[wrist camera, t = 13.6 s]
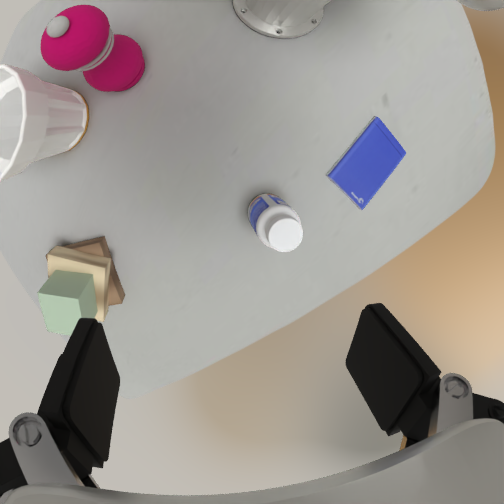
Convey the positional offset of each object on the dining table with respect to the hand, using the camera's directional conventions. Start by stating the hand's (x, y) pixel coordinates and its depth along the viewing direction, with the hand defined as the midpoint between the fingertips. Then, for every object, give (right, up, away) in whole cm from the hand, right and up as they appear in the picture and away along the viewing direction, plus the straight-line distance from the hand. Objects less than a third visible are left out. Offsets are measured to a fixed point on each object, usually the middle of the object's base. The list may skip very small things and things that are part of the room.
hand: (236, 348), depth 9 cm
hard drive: (+18, +17, +30) cm, 39 cm away
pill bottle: (+2, +9, +30) cm, 32 cm away
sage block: (-24, -2, +24) cm, 34 cm away
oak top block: (-24, -1, +27) cm, 36 cm away
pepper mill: (-16, +27, +19) cm, 36 cm away
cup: (-25, +21, +20) cm, 38 cm away
